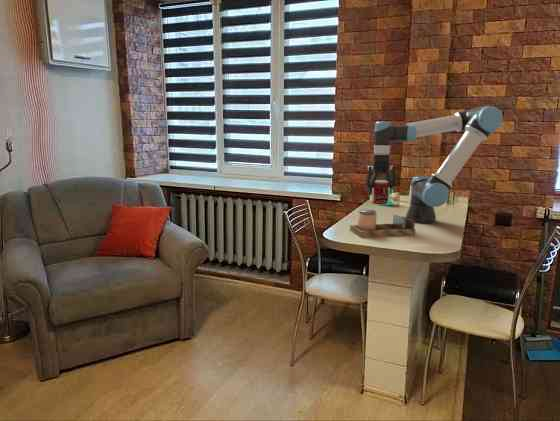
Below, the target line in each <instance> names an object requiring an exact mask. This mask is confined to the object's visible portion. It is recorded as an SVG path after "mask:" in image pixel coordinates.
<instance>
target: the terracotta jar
mask: <svg viewBox="0 0 560 421" xmlns="http://www.w3.org/2000/svg"><path fill="white" fill-rule="evenodd" d="M376 212H377V211H376V210H374V209H366V208H365V209H359V211H358V213H357V215H358V216H357V225H358V229H360V230H361V231H369V230H376V224H377V213H376Z"/></svg>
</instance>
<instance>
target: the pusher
mask: <svg viewBox="0 0 560 421" xmlns="http://www.w3.org/2000/svg"><path fill="white" fill-rule="evenodd" d="M402 217H403V216H400V215H398V214H393V216H392V224H393V228H392V229H394V230H397V229H405V226H407V223H406V219H405V218H402Z"/></svg>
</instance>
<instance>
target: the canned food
mask: <svg viewBox="0 0 560 421" xmlns="http://www.w3.org/2000/svg"><path fill="white" fill-rule="evenodd" d="M388 183H389V182H388V181H386V179H385V180H384V179H376V180H375V183H374V185H373V187H372V188H374V202H372V201H371V204H374V205H378V204H380V205H379V206H383V205H382V204H387V202H388Z"/></svg>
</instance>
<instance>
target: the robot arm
mask: <svg viewBox="0 0 560 421" xmlns="http://www.w3.org/2000/svg"><path fill="white" fill-rule="evenodd" d="M503 121H504V117H503V113H502V110H500V109H499V108H498V107H496V106H491V105H484V106H478V107H477V106H476V107H472V108H470V109H467V110H463V111H459V112H455V113H454V114H452V115H448V116H443V117H436V118H432V119H425V120H420V121H413V122H408V123H404V124H398V125H397V124H396V125H395V124H394V125H392V122H391V121H384V120H382V121H376V122H375V124H374V130H373V132H374V136H373V138H374V140H373V141H374V144H373V153H374V154H373V160H372V161H373V164H372V165H367V166H366V170H367V171H366V177H365V181H364V182H365V183H364V186H365V187H367V188H368V195H369V202H371V203H372V202H374V188H372V187H373V185H374V183H375V180H377V178H378V176H379V174H382V175H383V176H384V179H385V180H386V181H388V182H389V183H388V201H390V200H391V199H390V194H391V192H392V190H393V188H394V187H395V186H397V184H396V175H395V170H396V166H395V165H390V158H391V155H390V153H391V142H403V143H405V142H407V143H409V142H414V141H415V140H416V139H417V138H418V137H424V136H431V135H437V134H443V133H447V132H448V133H449V132H454V131H456V132H458V133H460V132H464V133H463V134H462V136H461V137H460V138H459V139H458V141H457V143H456V144H455V145H454V147H453V149H452V150H451V151H450V153H449V154H448V155H447V157H446V158H445V160H444V161H443V162H442V163H441V165H440V167H439V168H438V169H437V171H436V172H435V173H434V172H433V173H431V174H430V175H429V176H414V177H412V180H411V190H410V199H409V200H410V204H409V207H408V209H407V213H406V215H405V217H406V218H408V219H411V220H413V221H415V224H416V223H419V224H432V223H433V224H434V223H436V220H437V216H436V212H435V208H436V207H438V208H439V207H440V206H443V205H444V204H446V202H447V201H448V200H449V197H450V191H451V190H452V188H453V184H452V183H453V181H454V179H455V178H456V177H457V176H458V174H459V172H460V171H461V170H462V169H463V167H464V166H465V164H466V163H467V162H468V160H469V159H470V157H471V156H472V155H473V154H474V152H475V151H476V149H477V148H478V147H479V145H480V143H481V142H482V141H484V140H485V141H486V140H488V138H489V137H490V135H491V134H492V133H493V132H496V131H498V130H499V129H500V128H501V127H502V125H503ZM373 170H374V171H373ZM388 170H389V172H388ZM372 172H373V173H372ZM372 174H373V175H372ZM389 175H390V176H389ZM391 195H392V194H391Z"/></svg>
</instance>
